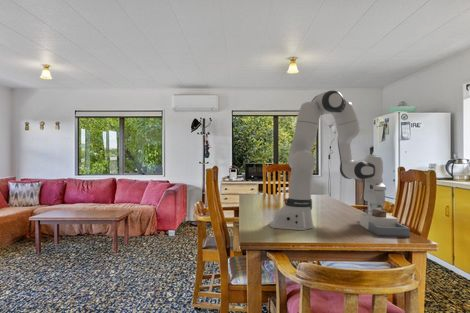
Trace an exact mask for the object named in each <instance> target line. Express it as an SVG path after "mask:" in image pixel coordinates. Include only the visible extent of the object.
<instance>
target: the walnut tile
mask: <svg viewBox="0 0 470 313" xmlns="http://www.w3.org/2000/svg"><path fill="white" fill-rule="evenodd" d="M386 214H387V211H386V210H374V209H372V215H373V216H375V217H386Z"/></svg>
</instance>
